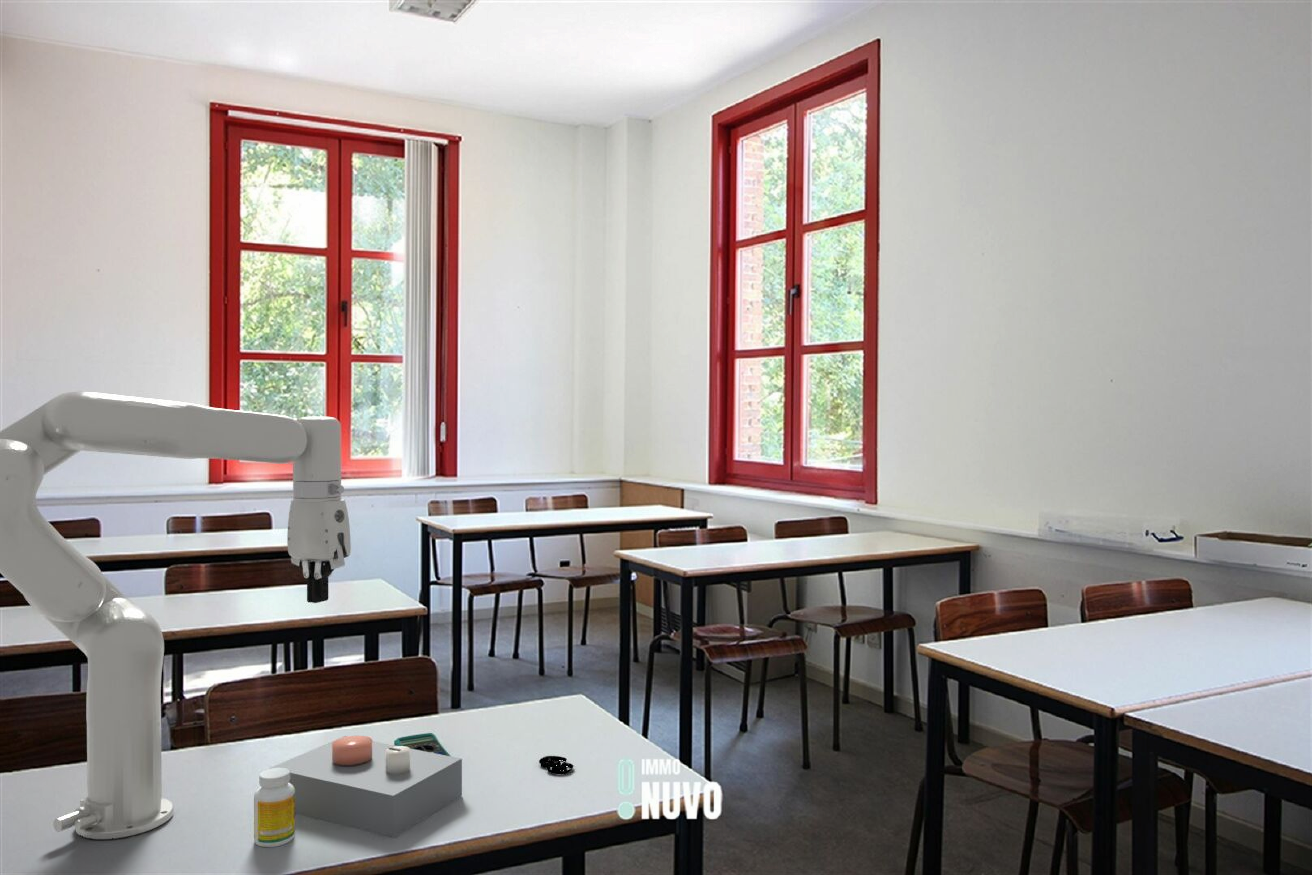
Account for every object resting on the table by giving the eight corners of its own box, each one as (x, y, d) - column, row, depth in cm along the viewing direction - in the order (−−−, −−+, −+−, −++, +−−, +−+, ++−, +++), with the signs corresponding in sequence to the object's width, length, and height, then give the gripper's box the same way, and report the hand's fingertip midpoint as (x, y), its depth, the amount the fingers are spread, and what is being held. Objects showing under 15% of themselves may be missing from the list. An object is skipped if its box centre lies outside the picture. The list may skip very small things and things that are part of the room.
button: (353, 784, 144) (353, 751, 144) (323, 777, 146) (323, 745, 146) (380, 770, 149) (380, 739, 149) (351, 764, 152) (351, 733, 152)
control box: (393, 837, 134) (393, 795, 134) (270, 806, 145) (269, 767, 144) (461, 796, 149) (461, 758, 149) (345, 771, 159) (345, 735, 159)
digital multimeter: (411, 781, 156) (411, 763, 156) (393, 752, 169) (393, 736, 169) (455, 774, 159) (455, 756, 159) (434, 746, 172) (434, 730, 172)
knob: (399, 775, 142) (399, 754, 142) (380, 771, 143) (380, 750, 143) (414, 767, 145) (414, 746, 145) (396, 763, 146) (396, 743, 146)
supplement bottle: (247, 839, 133) (247, 772, 133) (284, 827, 137) (284, 762, 137) (264, 852, 130) (264, 783, 129) (302, 839, 134) (301, 772, 133)
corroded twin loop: (551, 779, 157) (551, 773, 157) (533, 763, 164) (533, 757, 164) (578, 774, 159) (578, 768, 159) (560, 758, 166) (560, 752, 166)
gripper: (368, 491, 157) (368, 601, 157) (300, 487, 163) (301, 593, 163) (335, 494, 150) (335, 609, 150) (266, 491, 156) (266, 601, 157)
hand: (317, 601), depth 157 cm, fingers closed
